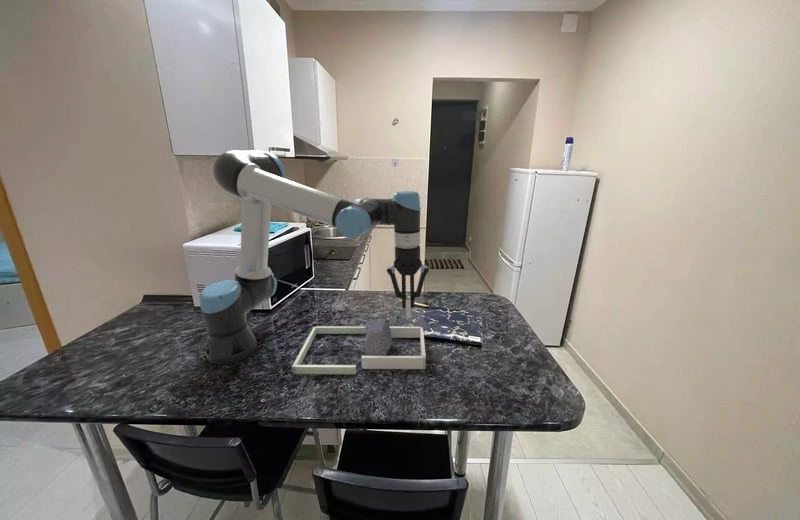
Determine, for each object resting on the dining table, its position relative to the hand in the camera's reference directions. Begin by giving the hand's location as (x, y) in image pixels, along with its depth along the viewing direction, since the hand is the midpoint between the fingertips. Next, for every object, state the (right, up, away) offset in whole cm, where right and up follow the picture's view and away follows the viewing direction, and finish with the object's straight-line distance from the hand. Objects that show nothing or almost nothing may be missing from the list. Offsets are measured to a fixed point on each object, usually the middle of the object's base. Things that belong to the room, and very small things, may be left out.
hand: (408, 316), depth 97 cm
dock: (-4, -12, +4) cm, 14 cm away
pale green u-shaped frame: (-25, -12, +5) cm, 28 cm away
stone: (-10, -13, +5) cm, 17 cm away
